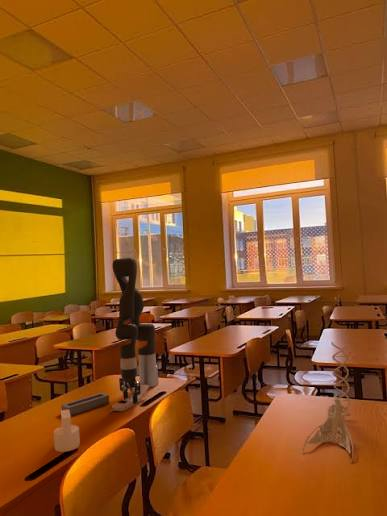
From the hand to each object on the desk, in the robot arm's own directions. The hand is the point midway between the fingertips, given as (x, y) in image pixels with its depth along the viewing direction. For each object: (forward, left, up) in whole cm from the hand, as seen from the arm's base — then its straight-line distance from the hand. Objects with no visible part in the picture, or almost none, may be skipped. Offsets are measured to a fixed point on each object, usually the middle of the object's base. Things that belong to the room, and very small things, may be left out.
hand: (130, 401), depth 194 cm
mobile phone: (0, 0, -2) cm, 2 cm away
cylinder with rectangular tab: (+41, +17, -2) cm, 44 cm away
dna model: (-47, +82, -2) cm, 95 cm away
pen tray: (+16, -13, -1) cm, 21 cm away
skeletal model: (-21, +91, -2) cm, 94 cm away
